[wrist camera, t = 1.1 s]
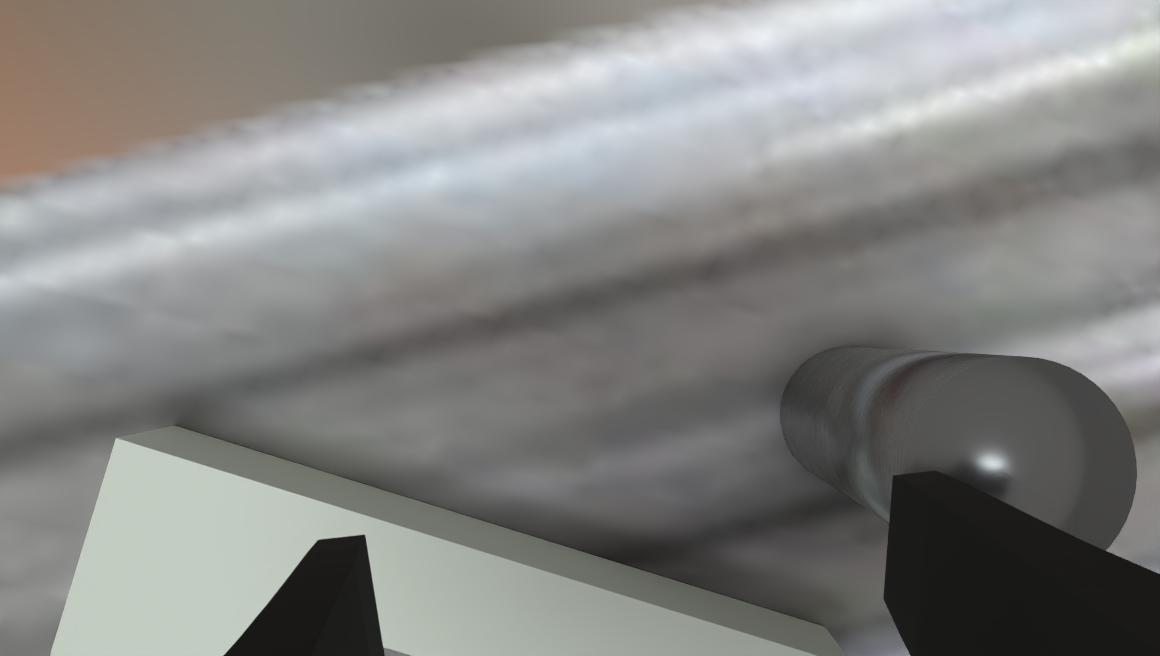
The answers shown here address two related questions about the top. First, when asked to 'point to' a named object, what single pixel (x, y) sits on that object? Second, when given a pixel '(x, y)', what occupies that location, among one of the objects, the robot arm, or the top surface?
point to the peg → (965, 432)
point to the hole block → (397, 560)
